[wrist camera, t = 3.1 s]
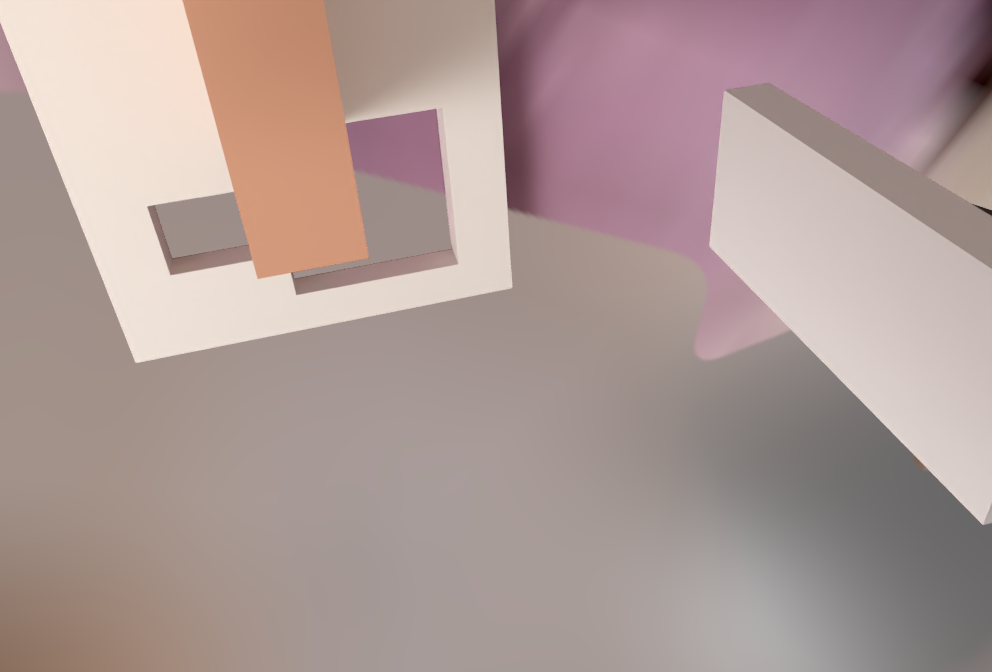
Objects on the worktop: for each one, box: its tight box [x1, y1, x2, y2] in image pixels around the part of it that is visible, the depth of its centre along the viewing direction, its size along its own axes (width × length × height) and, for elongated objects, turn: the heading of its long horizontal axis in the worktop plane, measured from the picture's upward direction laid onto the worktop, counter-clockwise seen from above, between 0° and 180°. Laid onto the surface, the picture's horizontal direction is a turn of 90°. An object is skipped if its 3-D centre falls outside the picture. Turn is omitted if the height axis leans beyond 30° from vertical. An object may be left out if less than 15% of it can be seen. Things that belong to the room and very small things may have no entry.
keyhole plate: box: [0, 0, 512, 363], centre depth 21 cm, size 14×23×10 cm, turn 3°
